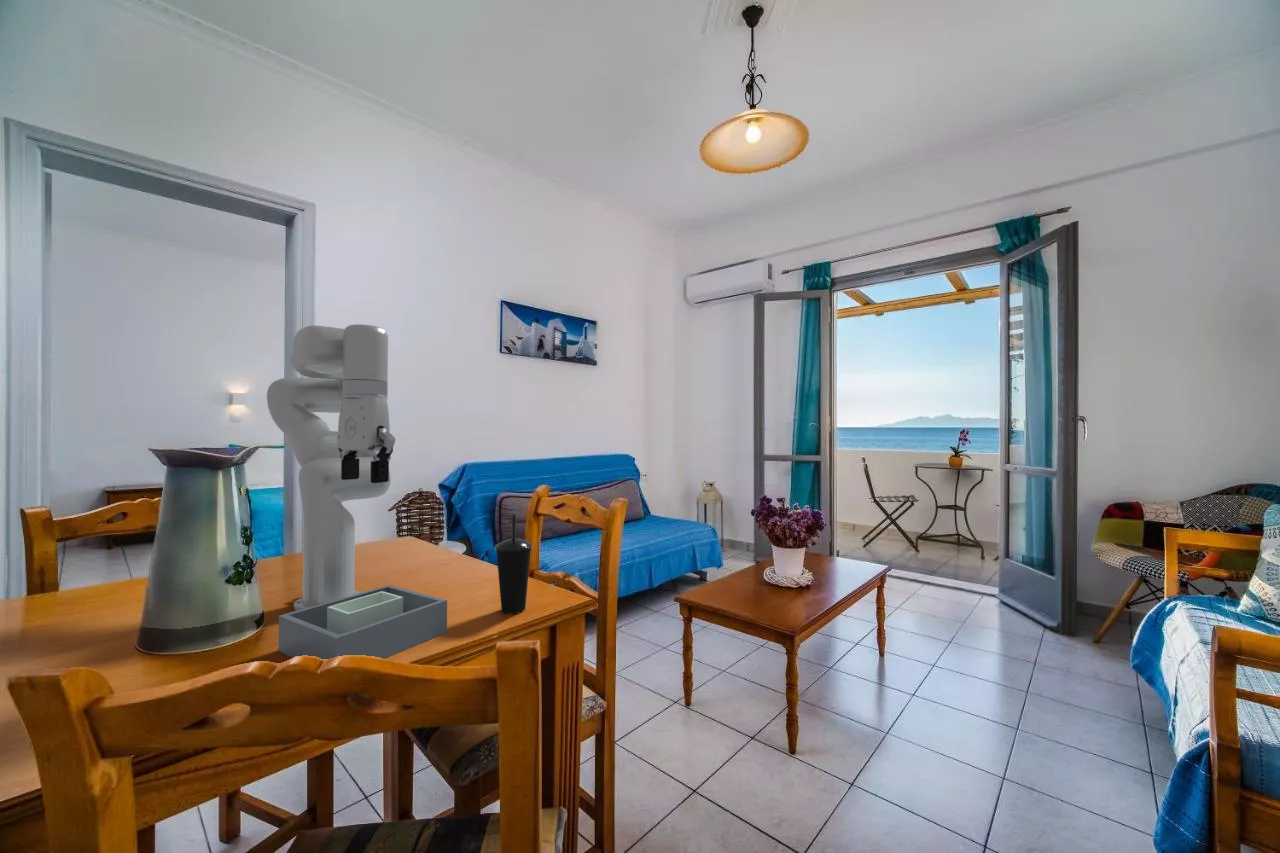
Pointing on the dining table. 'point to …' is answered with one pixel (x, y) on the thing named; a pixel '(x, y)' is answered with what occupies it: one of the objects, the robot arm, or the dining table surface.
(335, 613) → the block
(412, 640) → the big crate
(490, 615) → the dining table surface
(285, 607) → the dining table surface
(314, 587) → the robot arm
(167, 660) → the dining table surface
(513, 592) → the drinking cup
